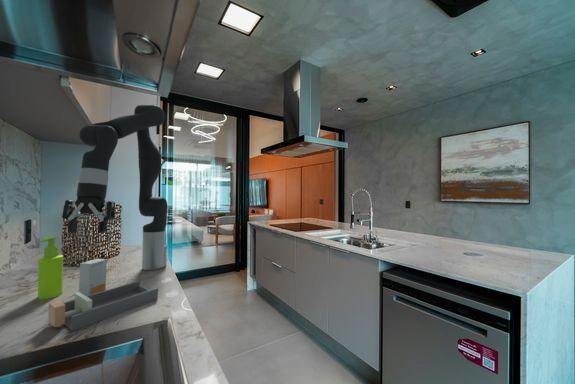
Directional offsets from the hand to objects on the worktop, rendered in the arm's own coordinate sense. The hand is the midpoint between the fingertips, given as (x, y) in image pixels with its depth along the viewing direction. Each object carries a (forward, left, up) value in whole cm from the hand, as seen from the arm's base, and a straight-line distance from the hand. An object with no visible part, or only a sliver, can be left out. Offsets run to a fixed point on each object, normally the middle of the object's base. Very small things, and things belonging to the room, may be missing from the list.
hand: (86, 232), depth 76 cm
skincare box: (-3, -3, -23) cm, 23 cm away
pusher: (+7, +11, -21) cm, 25 cm away
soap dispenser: (+5, -15, -23) cm, 28 cm away
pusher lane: (-3, +11, -22) cm, 25 cm away
